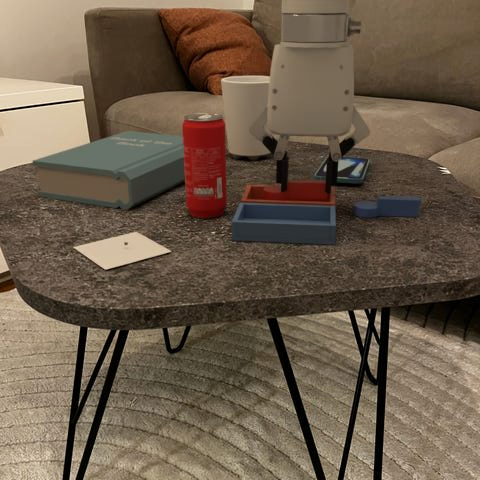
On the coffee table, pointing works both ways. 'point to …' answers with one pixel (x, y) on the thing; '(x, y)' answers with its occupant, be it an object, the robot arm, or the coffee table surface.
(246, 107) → the cup
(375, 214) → the blue rounded block
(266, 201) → the red tray
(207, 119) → the beverage can
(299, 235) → the blue tray
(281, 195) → the red rounded block
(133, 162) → the book
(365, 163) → the smartphone
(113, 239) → the coaster
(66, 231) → the coffee table surface
